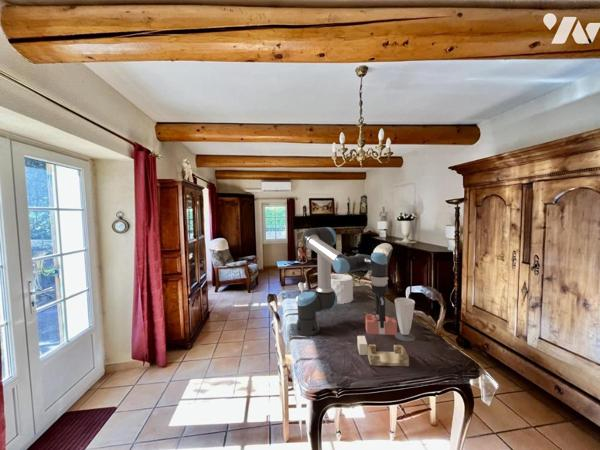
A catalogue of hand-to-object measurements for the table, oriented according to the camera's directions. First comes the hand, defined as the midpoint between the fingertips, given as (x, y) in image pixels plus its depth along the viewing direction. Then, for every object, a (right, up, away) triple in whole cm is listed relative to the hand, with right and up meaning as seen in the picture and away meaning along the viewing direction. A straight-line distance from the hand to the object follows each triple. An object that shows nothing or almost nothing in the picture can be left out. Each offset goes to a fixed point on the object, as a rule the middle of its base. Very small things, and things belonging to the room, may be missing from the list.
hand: (380, 330), depth 129 cm
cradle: (+4, -15, +1) cm, 16 cm away
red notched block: (0, 0, 0) cm, 1 cm away
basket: (-7, -11, +95) cm, 96 cm away
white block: (-6, -15, +11) cm, 20 cm away
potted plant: (-37, -13, +72) cm, 82 cm away
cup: (+22, -14, +25) cm, 36 cm away
